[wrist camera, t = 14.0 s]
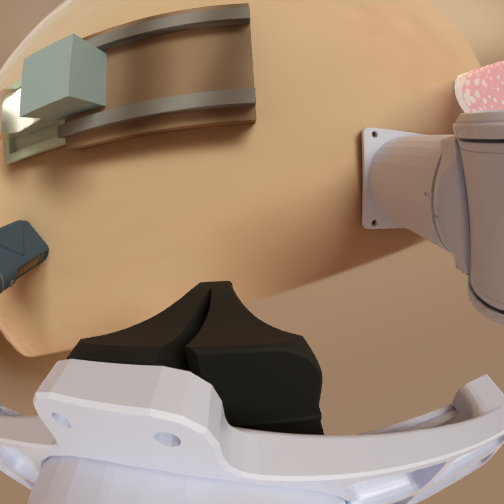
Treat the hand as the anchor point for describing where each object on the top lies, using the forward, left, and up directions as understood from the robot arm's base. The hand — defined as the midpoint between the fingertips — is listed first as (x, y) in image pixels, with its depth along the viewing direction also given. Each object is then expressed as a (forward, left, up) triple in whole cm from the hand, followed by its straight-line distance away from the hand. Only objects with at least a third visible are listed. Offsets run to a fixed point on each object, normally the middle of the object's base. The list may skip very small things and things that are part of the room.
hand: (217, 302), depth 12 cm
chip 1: (+17, -13, -8) cm, 23 cm away
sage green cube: (+10, -13, -8) cm, 19 cm away
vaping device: (+20, -1, -11) cm, 22 cm away
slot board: (+5, -13, -10) cm, 17 cm away
